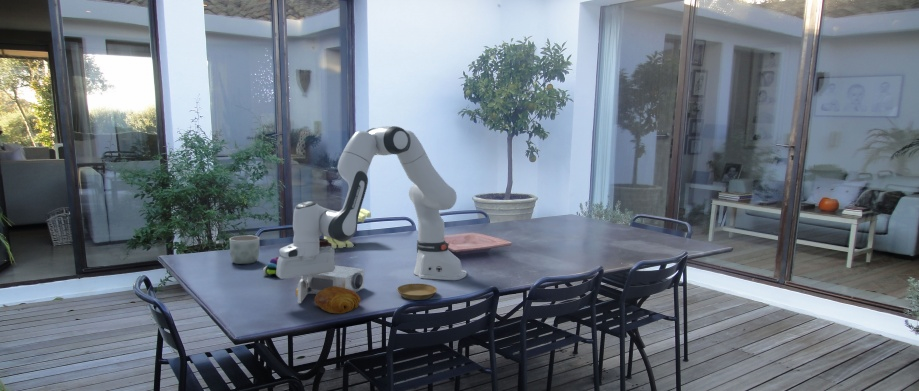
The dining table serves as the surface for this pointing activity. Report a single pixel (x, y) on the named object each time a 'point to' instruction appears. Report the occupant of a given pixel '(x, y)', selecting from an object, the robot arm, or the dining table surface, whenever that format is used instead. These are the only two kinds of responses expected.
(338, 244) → the pale yellow ridged piece
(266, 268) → the rainbow toy
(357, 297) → the croissant
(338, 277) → the camera housing
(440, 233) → the robot arm
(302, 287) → the panel
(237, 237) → the planter
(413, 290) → the plant saucer
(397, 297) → the dining table surface
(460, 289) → the dining table surface
